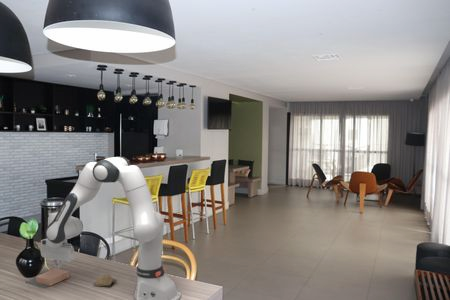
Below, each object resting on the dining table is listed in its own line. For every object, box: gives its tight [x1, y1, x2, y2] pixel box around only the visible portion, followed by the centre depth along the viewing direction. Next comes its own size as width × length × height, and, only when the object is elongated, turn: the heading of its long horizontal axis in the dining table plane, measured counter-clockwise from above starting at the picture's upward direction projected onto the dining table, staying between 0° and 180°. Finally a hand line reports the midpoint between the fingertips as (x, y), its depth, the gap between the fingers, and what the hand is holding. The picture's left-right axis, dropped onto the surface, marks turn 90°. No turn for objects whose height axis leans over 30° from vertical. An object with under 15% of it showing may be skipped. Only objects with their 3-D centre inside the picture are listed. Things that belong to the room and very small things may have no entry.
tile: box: [35, 268, 70, 287], centre depth 187 cm, size 3×12×10 cm
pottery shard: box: [93, 274, 117, 287], centre depth 184 cm, size 11×4×10 cm
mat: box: [25, 274, 71, 289], centre depth 188 cm, size 14×16×1 cm
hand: (57, 267), depth 185 cm, fingers closed
